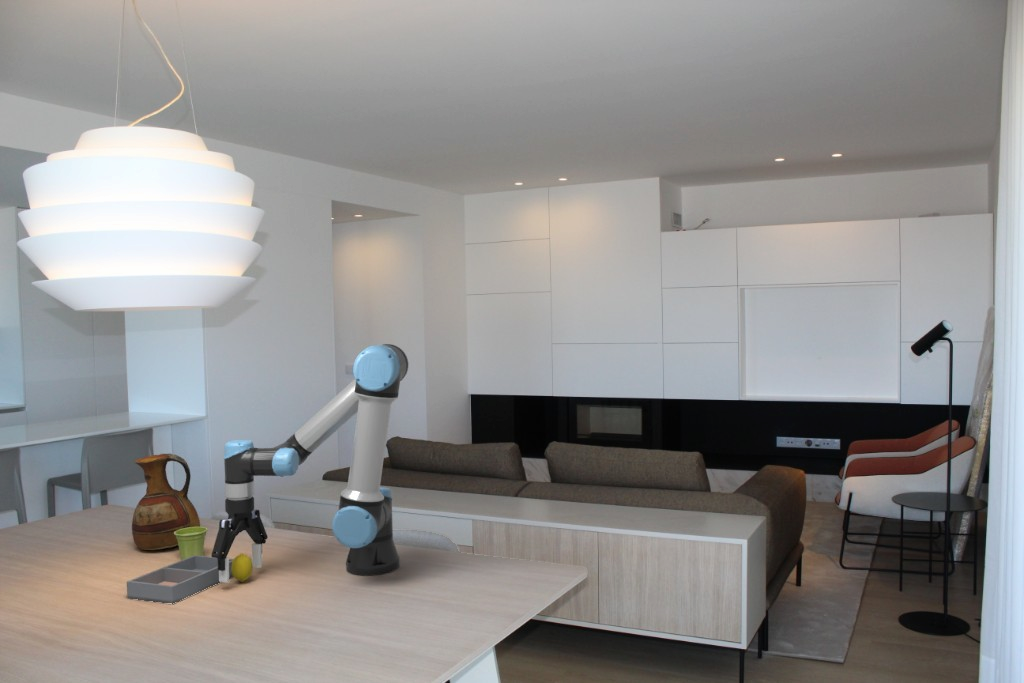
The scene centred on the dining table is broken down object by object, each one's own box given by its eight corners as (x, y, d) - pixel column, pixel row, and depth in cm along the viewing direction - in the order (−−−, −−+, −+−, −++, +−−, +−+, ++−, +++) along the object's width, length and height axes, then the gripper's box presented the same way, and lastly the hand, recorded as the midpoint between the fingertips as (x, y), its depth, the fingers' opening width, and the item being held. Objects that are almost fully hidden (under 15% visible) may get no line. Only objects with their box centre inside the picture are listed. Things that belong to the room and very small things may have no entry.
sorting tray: (237, 575, 230) (237, 559, 230) (172, 604, 207) (172, 587, 207) (195, 570, 235) (194, 555, 235) (127, 598, 212) (126, 581, 212)
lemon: (227, 584, 222) (226, 555, 222) (242, 578, 227) (241, 549, 227) (242, 586, 220) (241, 557, 219) (257, 580, 225) (256, 551, 224)
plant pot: (186, 565, 241) (185, 536, 240) (168, 560, 246) (167, 531, 246) (214, 557, 248) (213, 529, 248) (197, 552, 254) (196, 525, 253)
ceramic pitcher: (132, 543, 267) (129, 452, 266) (198, 535, 275) (195, 446, 274) (132, 558, 249) (129, 461, 248) (203, 549, 257) (199, 455, 256)
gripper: (257, 487, 236) (259, 560, 236) (196, 506, 212) (197, 586, 213) (279, 488, 233) (280, 562, 234) (219, 508, 210) (220, 590, 210)
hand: (241, 574), depth 223 cm, fingers open, 13 cm apart
